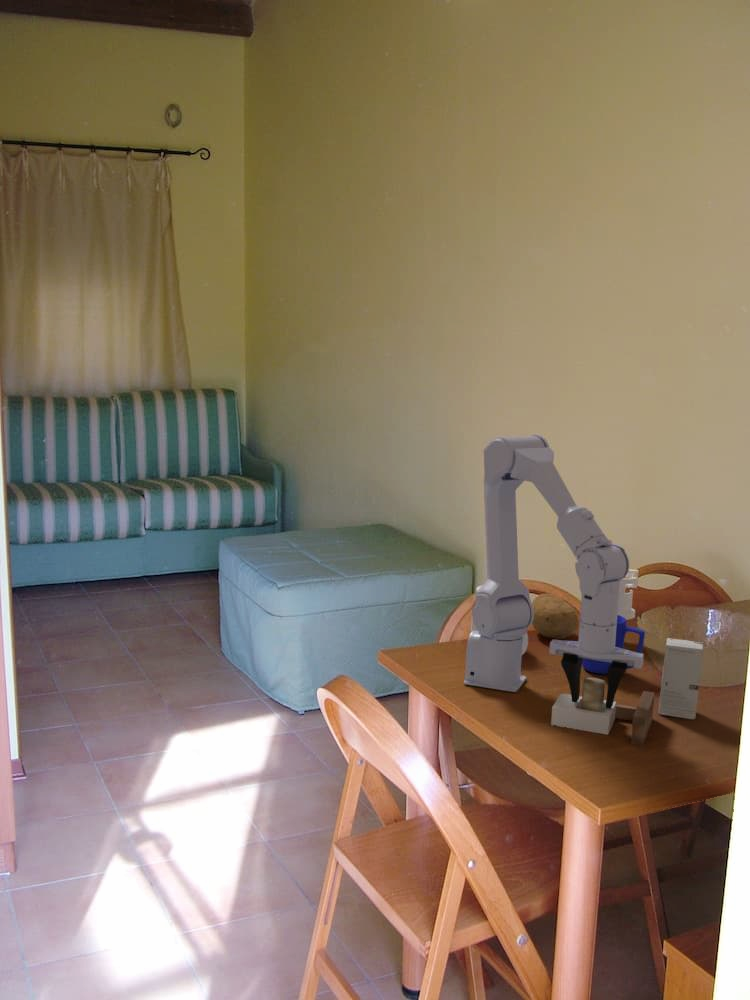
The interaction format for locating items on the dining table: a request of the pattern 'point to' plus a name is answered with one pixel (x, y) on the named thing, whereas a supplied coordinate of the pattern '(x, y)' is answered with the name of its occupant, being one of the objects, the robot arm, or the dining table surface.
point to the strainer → (627, 595)
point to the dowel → (593, 694)
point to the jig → (638, 716)
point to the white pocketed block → (582, 715)
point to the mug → (621, 630)
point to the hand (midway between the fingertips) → (592, 703)
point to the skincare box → (681, 678)
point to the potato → (554, 616)
